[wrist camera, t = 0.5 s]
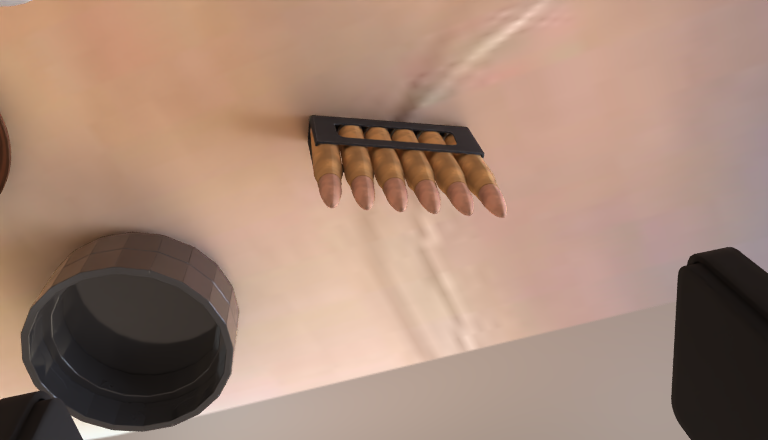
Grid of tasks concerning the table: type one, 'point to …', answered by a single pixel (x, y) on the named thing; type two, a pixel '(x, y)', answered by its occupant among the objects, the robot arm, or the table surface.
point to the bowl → (133, 332)
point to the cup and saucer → (4, 154)
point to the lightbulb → (12, 2)
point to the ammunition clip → (401, 163)
